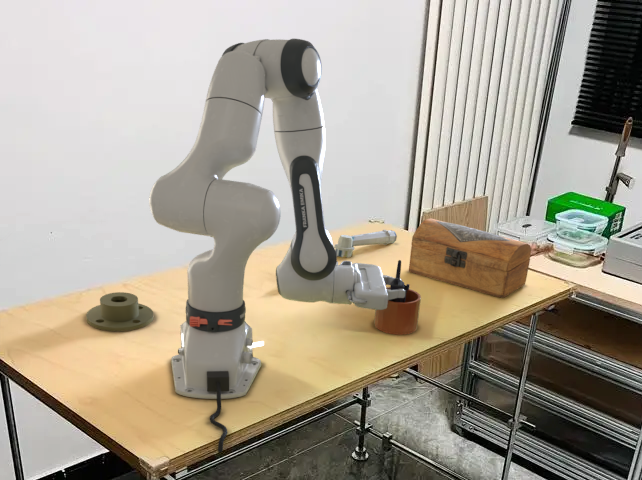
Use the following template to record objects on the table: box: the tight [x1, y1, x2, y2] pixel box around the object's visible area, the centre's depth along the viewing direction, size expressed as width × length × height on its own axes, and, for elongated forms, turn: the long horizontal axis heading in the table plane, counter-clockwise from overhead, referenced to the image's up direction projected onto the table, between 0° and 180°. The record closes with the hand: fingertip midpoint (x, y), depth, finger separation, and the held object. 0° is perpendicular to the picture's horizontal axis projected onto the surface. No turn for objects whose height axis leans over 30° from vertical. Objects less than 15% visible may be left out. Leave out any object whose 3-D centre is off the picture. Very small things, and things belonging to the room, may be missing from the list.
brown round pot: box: [373, 286, 422, 336], centre depth 193 cm, size 10×10×8 cm
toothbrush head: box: [333, 229, 398, 258], centre depth 242 cm, size 5×7×25 cm
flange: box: [85, 291, 154, 332], centre depth 186 cm, size 5×15×15 cm
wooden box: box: [408, 217, 532, 299], centre depth 224 cm, size 30×16×14 cm, turn 55°
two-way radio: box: [389, 259, 410, 303], centre depth 191 cm, size 6×4×15 cm
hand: (403, 288), depth 191 cm, fingers closed on two-way radio, 5 cm apart
